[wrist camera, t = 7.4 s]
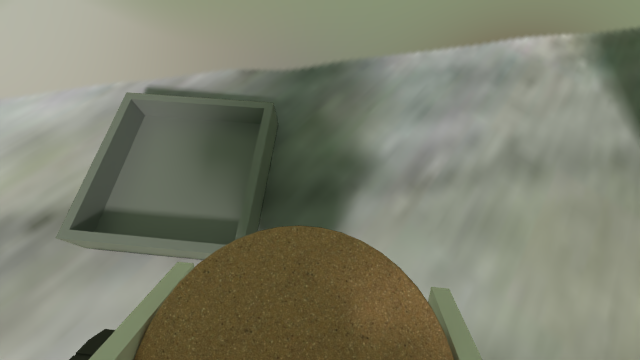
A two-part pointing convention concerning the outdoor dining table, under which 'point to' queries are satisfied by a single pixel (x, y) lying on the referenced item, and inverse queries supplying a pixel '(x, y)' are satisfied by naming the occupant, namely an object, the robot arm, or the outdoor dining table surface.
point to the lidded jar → (295, 304)
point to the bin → (175, 177)
